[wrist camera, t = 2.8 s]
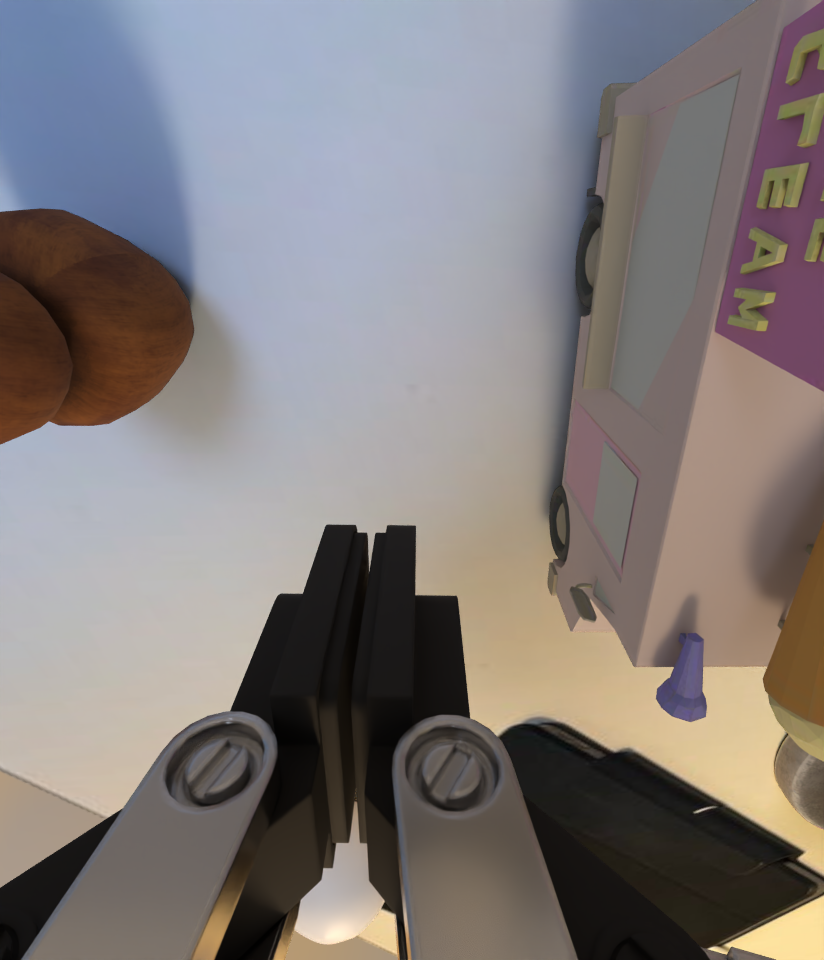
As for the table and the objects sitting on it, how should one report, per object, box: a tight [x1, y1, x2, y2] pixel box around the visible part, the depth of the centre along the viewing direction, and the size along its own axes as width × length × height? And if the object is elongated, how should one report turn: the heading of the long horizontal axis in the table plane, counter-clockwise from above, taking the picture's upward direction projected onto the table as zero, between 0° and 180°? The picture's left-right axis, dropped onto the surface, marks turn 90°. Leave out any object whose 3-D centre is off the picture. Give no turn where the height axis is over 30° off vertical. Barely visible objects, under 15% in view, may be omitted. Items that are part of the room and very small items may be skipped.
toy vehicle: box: [548, 0, 824, 761], centre depth 16 cm, size 9×20×15 cm, turn 1°
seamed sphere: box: [294, 802, 384, 944], centre depth 33 cm, size 10×7×7 cm
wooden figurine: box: [0, 209, 194, 444], centre depth 15 cm, size 7×6×15 cm
